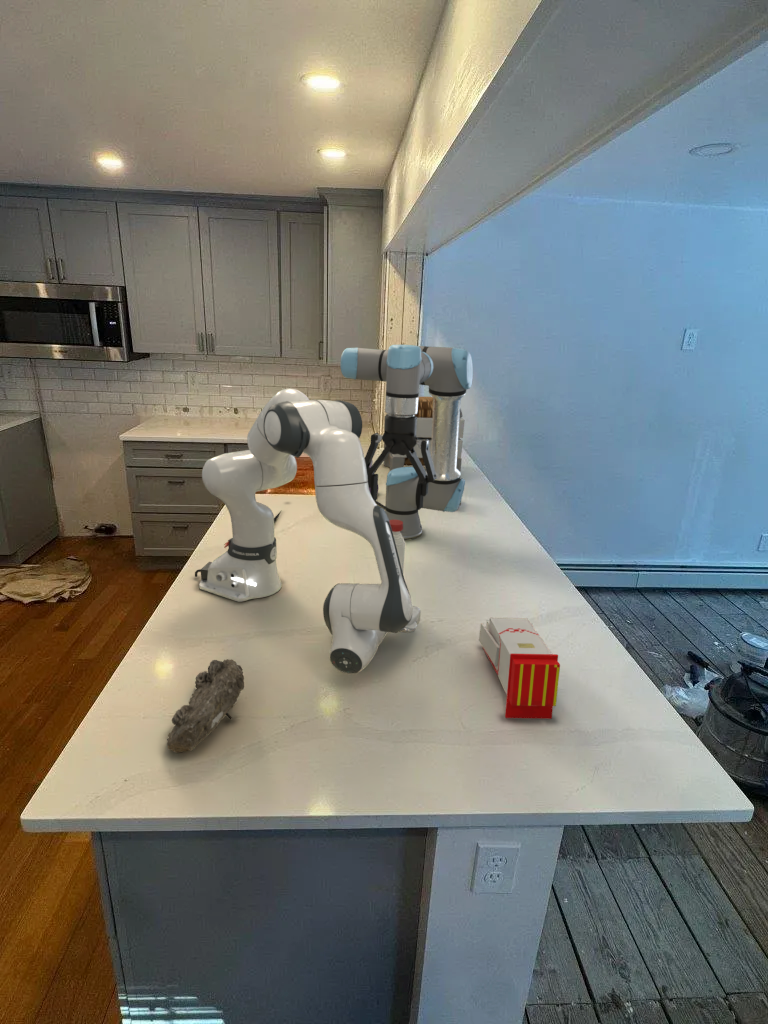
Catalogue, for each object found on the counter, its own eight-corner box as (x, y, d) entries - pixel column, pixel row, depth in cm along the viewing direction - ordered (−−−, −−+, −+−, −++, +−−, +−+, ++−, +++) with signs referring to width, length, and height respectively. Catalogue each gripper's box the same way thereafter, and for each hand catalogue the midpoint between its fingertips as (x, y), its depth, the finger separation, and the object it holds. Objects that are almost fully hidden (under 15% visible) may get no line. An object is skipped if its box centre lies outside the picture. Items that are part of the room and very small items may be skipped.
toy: (525, 603, 136) (569, 660, 107) (520, 654, 139) (562, 725, 109) (475, 601, 135) (505, 659, 106) (471, 653, 138) (499, 724, 109)
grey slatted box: (382, 463, 289) (386, 382, 275) (445, 464, 293) (451, 384, 279) (390, 482, 257) (394, 392, 243) (460, 483, 261) (468, 394, 247)
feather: (288, 505, 226) (290, 501, 226) (271, 529, 199) (273, 524, 199) (284, 503, 226) (287, 499, 225) (266, 526, 199) (269, 522, 199)
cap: (392, 532, 138) (392, 526, 137) (383, 527, 141) (384, 521, 140) (405, 530, 140) (406, 523, 139) (396, 525, 143) (397, 518, 142)
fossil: (192, 660, 117) (244, 628, 112) (224, 691, 120) (276, 661, 115) (142, 746, 98) (202, 712, 93) (182, 779, 101) (242, 748, 96)
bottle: (387, 619, 145) (392, 529, 136) (376, 610, 149) (379, 521, 141) (405, 614, 148) (410, 525, 139) (393, 605, 152) (398, 518, 143)
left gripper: (414, 620, 126) (427, 593, 139) (328, 603, 131) (349, 578, 144) (412, 645, 128) (426, 615, 141) (328, 627, 133) (348, 600, 146)
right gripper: (454, 417, 130) (447, 507, 138) (360, 407, 138) (358, 492, 145) (446, 422, 124) (438, 516, 131) (347, 411, 131) (345, 501, 139)
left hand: (386, 596), depth 142 cm, fingers open, 8 cm apart
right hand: (396, 504), depth 138 cm, fingers open, 11 cm apart
